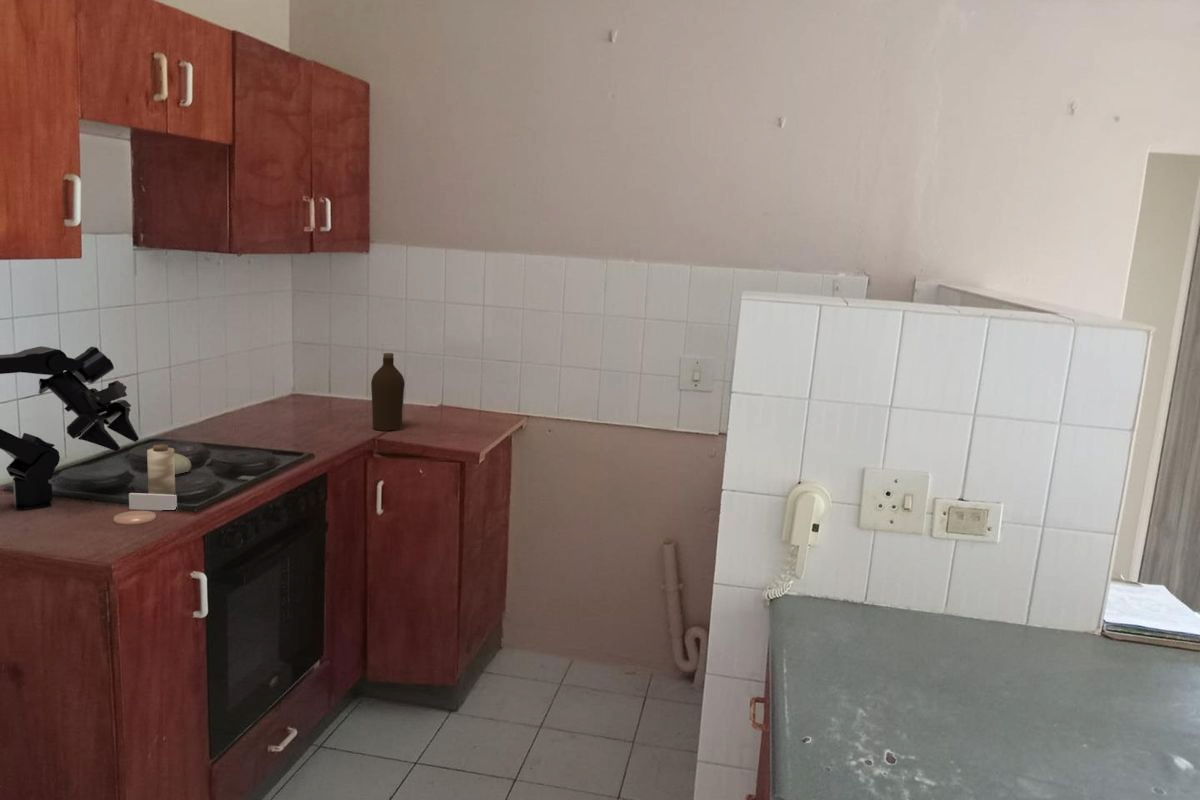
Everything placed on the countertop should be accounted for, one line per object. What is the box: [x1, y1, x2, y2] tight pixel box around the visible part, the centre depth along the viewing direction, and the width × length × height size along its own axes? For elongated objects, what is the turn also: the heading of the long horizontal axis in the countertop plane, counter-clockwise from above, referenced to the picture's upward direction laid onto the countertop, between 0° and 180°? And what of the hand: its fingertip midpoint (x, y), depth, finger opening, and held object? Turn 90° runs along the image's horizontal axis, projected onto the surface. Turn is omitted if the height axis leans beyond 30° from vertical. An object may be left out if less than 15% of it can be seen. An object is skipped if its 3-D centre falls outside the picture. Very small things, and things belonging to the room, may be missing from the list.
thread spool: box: [146, 443, 176, 495], centre depth 201 cm, size 6×6×13 cm
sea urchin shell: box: [174, 452, 192, 474], centre depth 224 cm, size 9×8×8 cm
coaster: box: [113, 510, 157, 526], centre depth 188 cm, size 8×8×1 cm
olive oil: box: [370, 352, 405, 431], centre depth 288 cm, size 11×11×25 cm
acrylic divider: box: [128, 492, 178, 511], centre depth 195 cm, size 10×1×4 cm, turn 93°
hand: (128, 444), depth 199 cm, fingers open, 9 cm apart
